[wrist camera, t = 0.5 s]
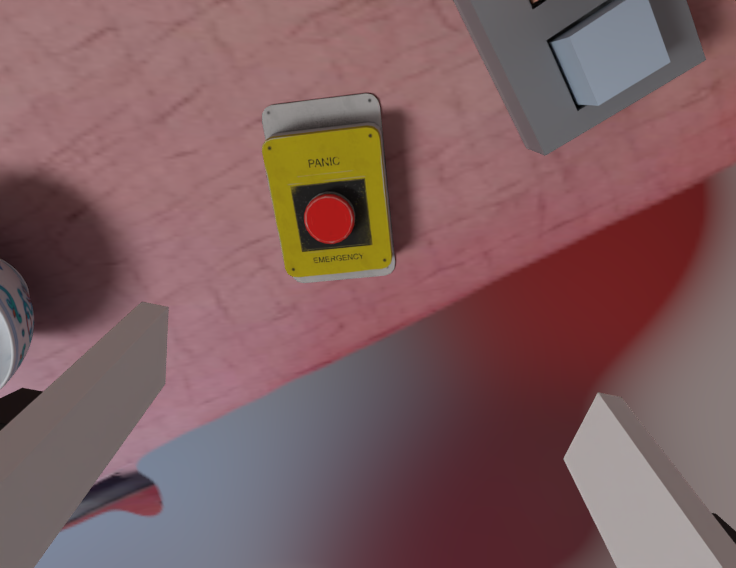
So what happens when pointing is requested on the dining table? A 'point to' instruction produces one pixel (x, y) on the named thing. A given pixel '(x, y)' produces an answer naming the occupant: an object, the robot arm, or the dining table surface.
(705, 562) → the robot arm
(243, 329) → the dining table surface
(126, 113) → the dining table surface
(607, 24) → the blue key
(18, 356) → the chinaware
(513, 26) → the key panel
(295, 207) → the emergency button
